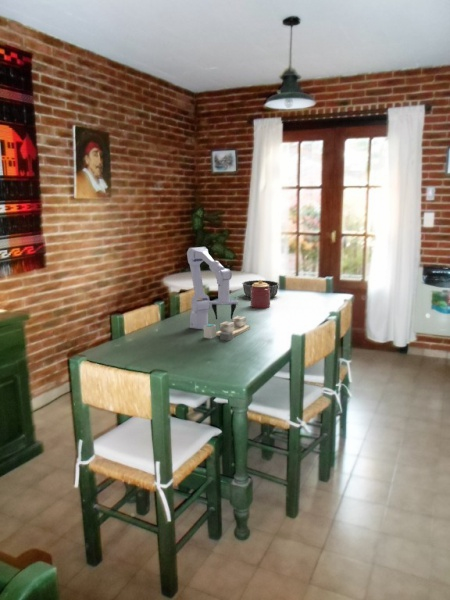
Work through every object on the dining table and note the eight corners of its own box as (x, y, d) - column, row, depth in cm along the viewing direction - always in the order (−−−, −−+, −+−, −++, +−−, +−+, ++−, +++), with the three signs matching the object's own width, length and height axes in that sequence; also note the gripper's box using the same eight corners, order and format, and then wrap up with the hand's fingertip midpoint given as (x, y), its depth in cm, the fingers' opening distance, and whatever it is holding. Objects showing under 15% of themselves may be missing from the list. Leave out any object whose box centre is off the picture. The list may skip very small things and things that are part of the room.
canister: (270, 308, 316) (271, 281, 312) (250, 308, 316) (250, 281, 312) (269, 304, 328) (269, 278, 325) (250, 304, 329) (250, 278, 325)
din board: (215, 335, 256) (215, 323, 254) (234, 326, 273) (233, 315, 271) (232, 337, 251) (232, 325, 250) (250, 328, 268) (250, 317, 267)
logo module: (203, 337, 252) (203, 325, 250) (208, 335, 256) (208, 323, 255) (211, 338, 250) (211, 326, 248) (216, 336, 254) (216, 324, 253)
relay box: (219, 339, 248) (219, 333, 247) (223, 337, 251) (223, 331, 250) (228, 341, 245) (228, 334, 245) (232, 339, 249) (232, 332, 248)
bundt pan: (285, 295, 359) (285, 281, 357) (268, 301, 337) (268, 287, 335) (253, 292, 372) (253, 279, 370) (235, 298, 351) (235, 284, 349)
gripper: (209, 294, 246) (209, 320, 249) (238, 294, 246) (238, 320, 249) (209, 291, 253) (209, 317, 256) (237, 291, 253) (237, 317, 256)
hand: (224, 318), depth 253 cm, fingers open, 7 cm apart
